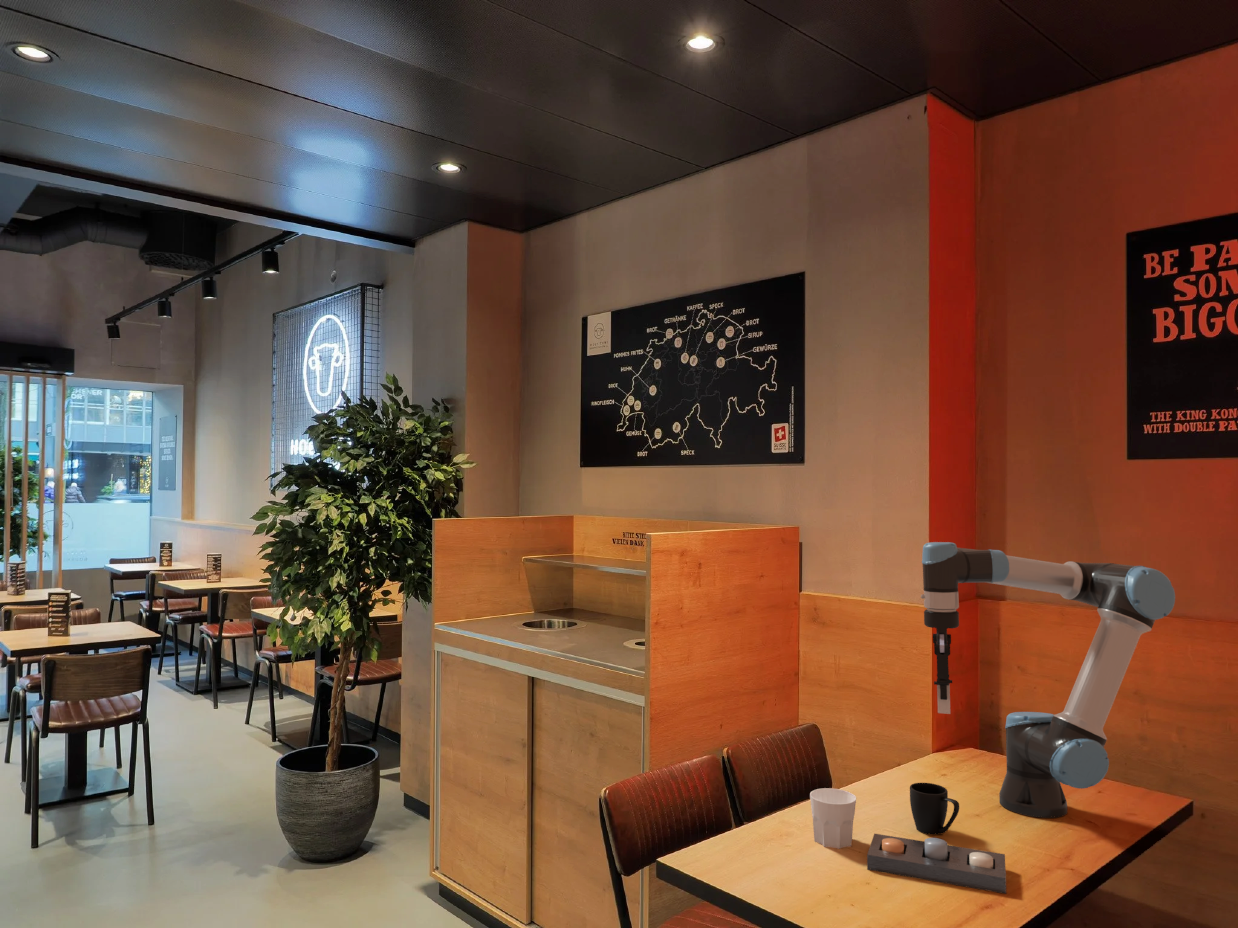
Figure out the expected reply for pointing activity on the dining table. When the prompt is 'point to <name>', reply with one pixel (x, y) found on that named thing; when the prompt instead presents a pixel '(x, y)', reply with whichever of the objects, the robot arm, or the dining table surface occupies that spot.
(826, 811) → the cup
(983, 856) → the button cream
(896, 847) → the button orange
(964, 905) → the dining table surface
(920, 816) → the mug
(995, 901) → the dining table surface
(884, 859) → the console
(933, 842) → the button slate
